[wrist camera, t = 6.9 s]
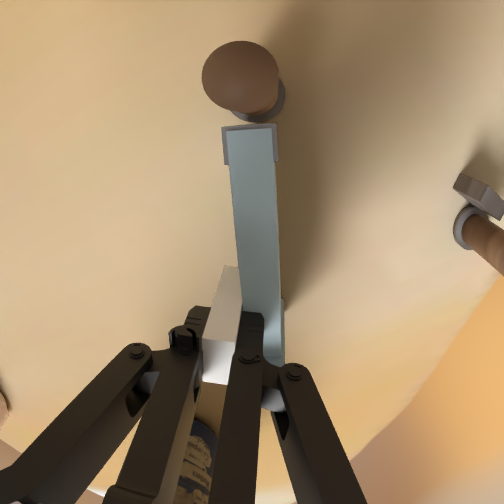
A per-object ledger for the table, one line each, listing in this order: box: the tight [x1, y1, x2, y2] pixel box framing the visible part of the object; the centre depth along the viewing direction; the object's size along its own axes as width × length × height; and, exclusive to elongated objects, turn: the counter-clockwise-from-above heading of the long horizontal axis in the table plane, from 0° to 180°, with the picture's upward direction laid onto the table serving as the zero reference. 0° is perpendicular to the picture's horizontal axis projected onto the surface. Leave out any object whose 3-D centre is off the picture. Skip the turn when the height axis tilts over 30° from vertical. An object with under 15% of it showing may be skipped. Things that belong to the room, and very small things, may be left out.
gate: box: [221, 123, 285, 367], centre depth 16 cm, size 13×2×8 cm, turn 4°
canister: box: [116, 419, 218, 504], centre depth 22 cm, size 10×10×18 cm
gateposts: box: [202, 41, 504, 276], centre depth 13 cm, size 21×4×8 cm, turn 65°
